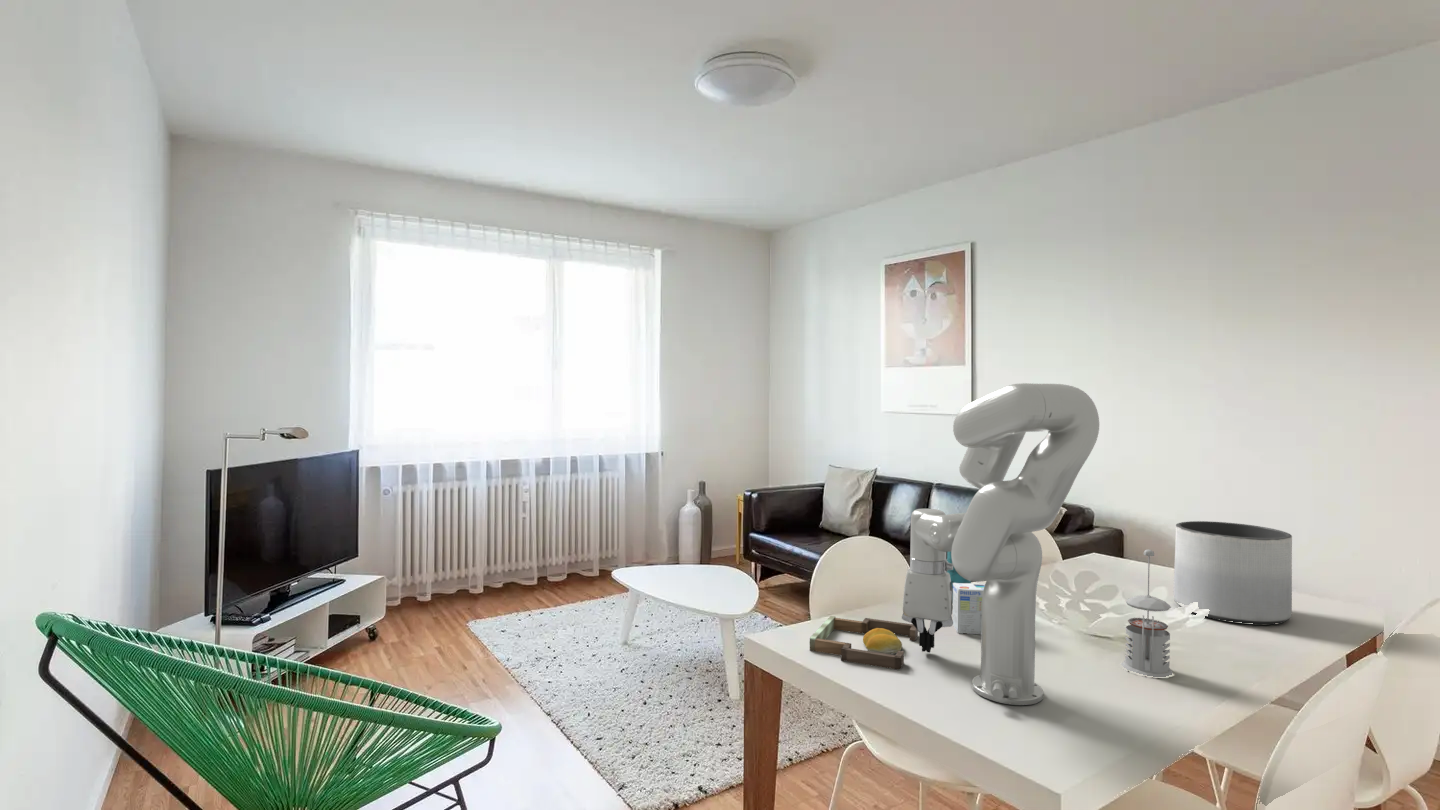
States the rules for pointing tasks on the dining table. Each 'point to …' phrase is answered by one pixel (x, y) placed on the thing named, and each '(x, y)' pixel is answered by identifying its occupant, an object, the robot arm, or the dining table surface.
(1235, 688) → the dining table surface
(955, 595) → the light bulb box
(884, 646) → the bread roll
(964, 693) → the dining table surface
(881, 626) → the frame
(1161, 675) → the french press
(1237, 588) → the planter
